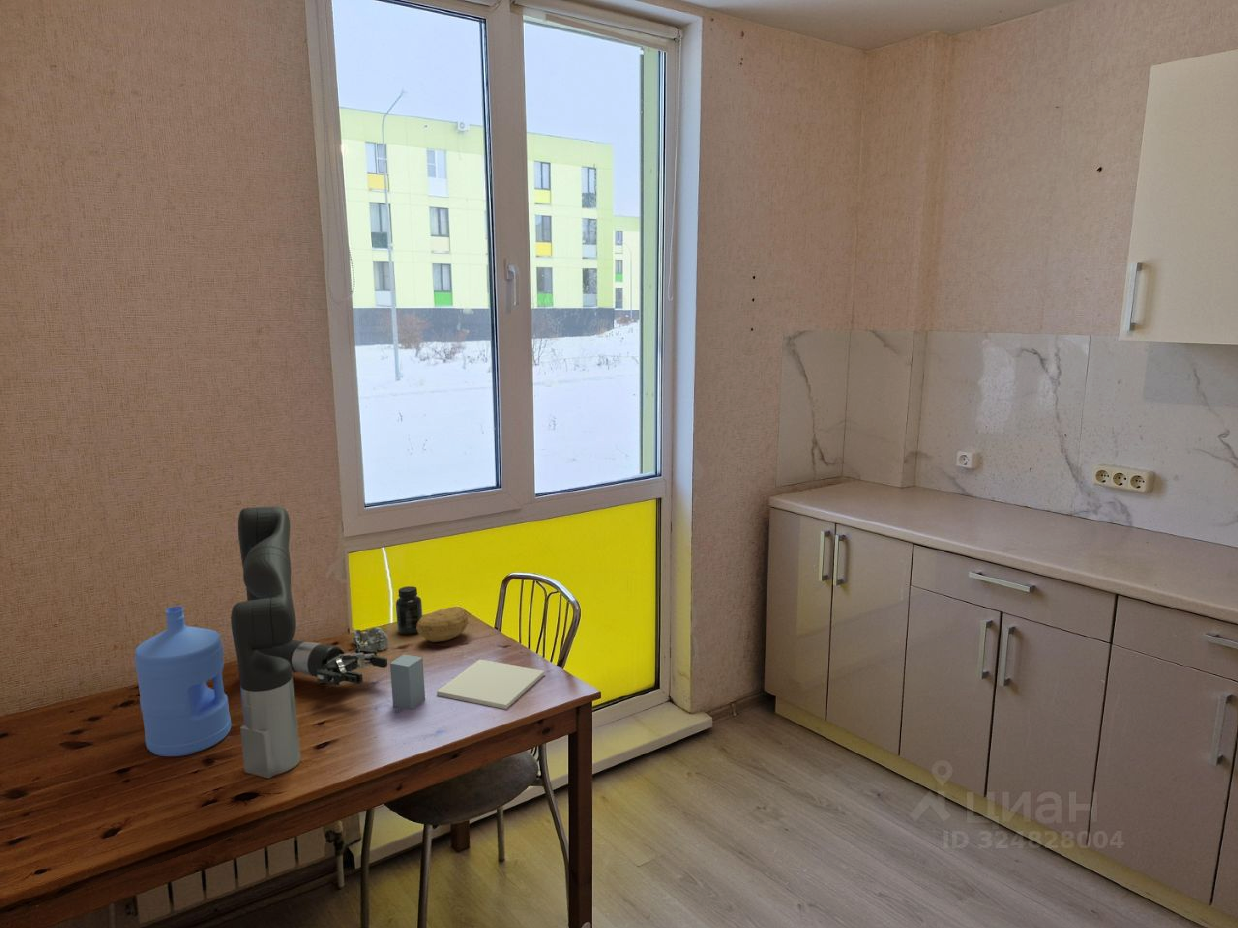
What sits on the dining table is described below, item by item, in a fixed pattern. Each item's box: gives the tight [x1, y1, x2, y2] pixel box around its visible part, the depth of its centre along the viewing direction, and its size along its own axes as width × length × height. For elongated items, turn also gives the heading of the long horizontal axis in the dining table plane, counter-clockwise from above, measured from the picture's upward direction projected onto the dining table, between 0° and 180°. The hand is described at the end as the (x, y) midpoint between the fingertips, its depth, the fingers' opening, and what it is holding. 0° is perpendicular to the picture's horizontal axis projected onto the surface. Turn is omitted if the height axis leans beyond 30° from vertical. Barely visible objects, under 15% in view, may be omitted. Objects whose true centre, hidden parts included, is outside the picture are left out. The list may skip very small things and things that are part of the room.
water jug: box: [134, 606, 232, 757], centre depth 163 cm, size 16×16×28 cm
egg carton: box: [351, 626, 388, 651], centre depth 210 cm, size 11×8×4 cm
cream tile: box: [436, 659, 545, 710], centre depth 187 cm, size 18×18×1 cm
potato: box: [416, 606, 469, 643], centre depth 212 cm, size 10×14×8 cm
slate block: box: [389, 654, 426, 710], centre depth 178 cm, size 5×5×10 cm
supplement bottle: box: [395, 585, 423, 636], centre depth 218 cm, size 7×7×12 cm
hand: (374, 670), depth 182 cm, fingers open, 8 cm apart
